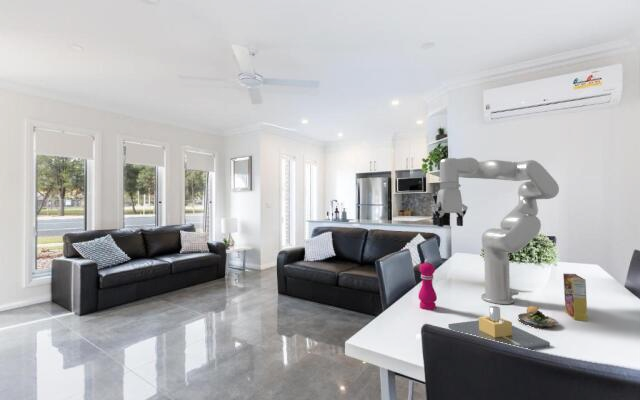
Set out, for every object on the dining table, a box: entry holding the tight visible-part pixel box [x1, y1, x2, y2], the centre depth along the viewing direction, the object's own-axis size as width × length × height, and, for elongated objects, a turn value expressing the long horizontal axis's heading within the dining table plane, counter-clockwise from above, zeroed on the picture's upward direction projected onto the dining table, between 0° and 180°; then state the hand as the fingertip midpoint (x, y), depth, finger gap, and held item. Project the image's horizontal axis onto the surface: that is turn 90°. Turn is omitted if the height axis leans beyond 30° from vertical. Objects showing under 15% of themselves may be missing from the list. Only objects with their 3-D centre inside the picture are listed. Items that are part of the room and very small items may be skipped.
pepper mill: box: [417, 258, 437, 311], centre depth 126 cm, size 7×7×20 cm
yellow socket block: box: [478, 315, 513, 337], centre depth 98 cm, size 7×7×5 cm
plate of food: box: [517, 303, 559, 330], centre depth 108 cm, size 12×12×8 cm
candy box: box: [563, 273, 588, 322], centre depth 114 cm, size 9×4×15 cm, turn 158°
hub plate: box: [448, 305, 551, 350], centre depth 98 cm, size 20×20×9 cm
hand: (450, 226), depth 131 cm, fingers open, 9 cm apart
